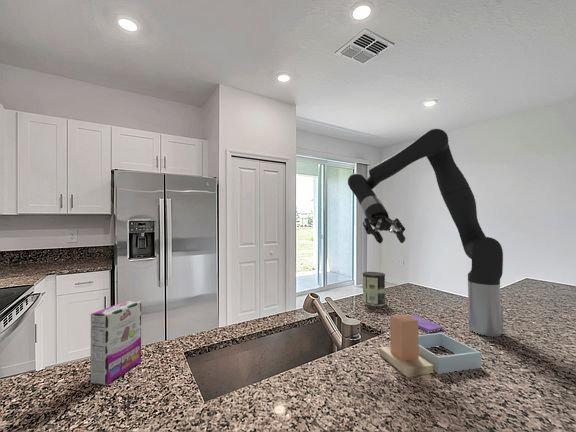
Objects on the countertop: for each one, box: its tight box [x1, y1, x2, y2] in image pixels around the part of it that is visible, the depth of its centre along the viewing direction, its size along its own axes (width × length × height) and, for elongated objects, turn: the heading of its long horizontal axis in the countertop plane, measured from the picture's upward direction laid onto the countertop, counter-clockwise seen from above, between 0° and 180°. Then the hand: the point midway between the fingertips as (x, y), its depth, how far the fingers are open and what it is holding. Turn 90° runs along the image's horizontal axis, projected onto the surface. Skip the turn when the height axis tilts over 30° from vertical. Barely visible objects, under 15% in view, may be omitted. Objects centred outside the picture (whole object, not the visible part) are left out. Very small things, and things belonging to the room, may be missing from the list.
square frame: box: [418, 332, 482, 375], centre depth 76 cm, size 13×13×4 cm
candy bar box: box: [89, 300, 142, 386], centre depth 68 cm, size 11×5×16 cm, turn 168°
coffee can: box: [362, 271, 386, 307], centre depth 129 cm, size 10×10×14 cm
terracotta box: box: [389, 313, 419, 361], centre depth 73 cm, size 5×5×10 cm
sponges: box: [410, 315, 444, 332], centre depth 101 cm, size 7×13×2 cm, turn 22°
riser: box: [379, 345, 434, 378], centre depth 73 cm, size 8×12×2 cm, turn 14°
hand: (392, 241), depth 93 cm, fingers open, 8 cm apart
